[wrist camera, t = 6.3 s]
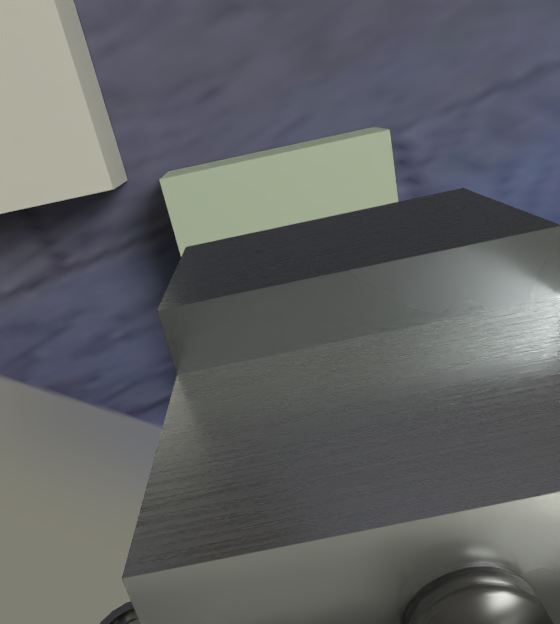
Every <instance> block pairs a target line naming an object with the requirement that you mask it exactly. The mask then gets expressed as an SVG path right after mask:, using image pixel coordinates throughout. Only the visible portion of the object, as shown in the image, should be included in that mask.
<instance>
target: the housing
mask: <svg viewBox="0 0 560 624" xmlns="http://www.w3.org/2000/svg"><path fill="white" fill-rule="evenodd" d="M157 312H158V315H159V319H160V322H161V325H162V328H163V332H164V335H165V338H166V341H167V345H168V348H169V351H170V354H171V357H172V361H173V364H174V367H175V370H176V374H177V377H176V380H175V384H174V388H173V391H172V395H171V399H170V402H169V406H168V410H167V414H166V417H165V421H164V425H163V428H162V432H161V436H160V439H159V443H158V447H157V450H156V454H155V458H154V462H153V465H152V469H151V473H150V476H149V480H148V484H147V487H146V491H145V495H144V499H143V502H142V506H141V510H140V513H139V517H138V521H137V525H136V528H135V532H134V535H133V539H132V543H131V547H130V550H129V554H128V558H127V562H126V565H125V569H124V573H123V576H122V580H123V583H124V585H125V588H126V590H127V593H128V595H129V597H130V600H131V602H132V605H133V607H134V609H135V612H136V614H137V616H138V619H139V621H140V624H560V225H559V224H556V223H554V222H551V221H549V220H546V219H543V218H541V217H538V216H535V215H533V214H530V213H528V212H525V211H522V210H520V209H517V208H514V207H512V206H509V205H506V204H504V203H501V202H499V201H496V200H493V199H491V198H488V197H485V196H483V195H480V194H478V193H475V192H472V191H470V190H467V189H464V188H461V189H457V190H452V191H447V192H442V193H438V194H433V195H428V196H424V197H419V198H414V199H409V200H405V201H400V202H395V203H391V204H386V205H381V206H376V207H372V208H367V209H362V210H358V211H353V212H348V213H343V214H339V215H334V216H329V217H325V218H320V219H315V220H310V221H306V222H301V223H296V224H292V225H287V226H282V227H277V228H273V229H268V230H263V231H259V232H254V233H249V234H245V235H240V236H235V237H230V238H226V239H221V240H216V241H212V242H207V243H202V244H197V245H193V246H188V247H186V248H185V250H184V252H183V254H182V257H181V259H180V261H179V263H178V265H177V268H176V270H175V272H174V274H173V276H172V279H171V281H170V283H169V285H168V287H167V290H166V292H165V294H164V296H163V298H162V301H161V303H160V305H159V307H158V309H157Z"/></svg>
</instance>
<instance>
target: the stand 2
mask: <svg viewBox="0 0 560 624" xmlns="http://www.w3.org/2000/svg"><path fill="white" fill-rule="evenodd" d="M159 181H160V184H161V188H162V191H163V195H164V198H165V202H166V206H167V209H168V213H169V216H170V220H171V223H172V227H173V230H174V234H175V238H176V241H177V245H178V248H179V252H180V255H181V257H182V254H183V252H184V250H185V248H186V247H188V246H193V245H197V244H202V243H207V242H212V241H216V240H221V239H226V238H230V237H235V236H240V235H245V234H249V233H254V232H259V231H263V230H268V229H273V228H277V227H282V226H287V225H292V224H296V223H301V222H306V221H310V220H315V219H320V218H325V217H329V216H334V215H339V214H343V213H348V212H353V211H358V210H362V209H367V208H372V207H376V206H381V205H386V204H391V203H395V202H398V196H397V187H396V179H395V170H394V162H393V154H392V145H391V137H390V130H388V129H382V128H376V127H372V128H367V129H362V130H358V131H353V132H348V133H344V134H339V135H335V136H330V137H325V138H321V139H316V140H311V141H307V142H302V143H298V144H293V145H288V146H284V147H279V148H275V149H270V150H265V151H261V152H256V153H251V154H247V155H242V156H238V157H233V158H228V159H224V160H219V161H214V162H210V163H205V164H201V165H196V166H191V167H187V168H182V169H178V170H173V171H168V172H167V173H166V174H165V175H164V176H163V177H162V178H160V179H159Z"/></svg>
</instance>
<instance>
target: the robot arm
mask: <svg viewBox="0 0 560 624" xmlns="http://www.w3.org/2000/svg"><path fill="white" fill-rule="evenodd" d="M100 624H140V621H139V619H138V616H137V614H136V612H135V609H134V607H133V605H132V602H131V601H130V602H128V603H125V604H124V605H122V606H121V607H119V608H117V609H115V610H114V611H112V612H111V613H110V614H109V615H108V616H107V617H106V618H105V619H104V620H103V621H101V623H100Z"/></svg>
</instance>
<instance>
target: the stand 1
mask: <svg viewBox="0 0 560 624" xmlns="http://www.w3.org/2000/svg"><path fill="white" fill-rule="evenodd" d="M126 181H127V176H126V173H125V170H124V167H123V163H122V160H121V157H120V153H119V150H118V147H117V143H116V140H115V137H114V133H113V130H112V127H111V123H110V120H109V117H108V114H107V110H106V107H105V104H104V100H103V97H102V94H101V90H100V87H99V84H98V80H97V77H96V74H95V71H94V67H93V64H92V61H91V57H90V54H89V51H88V47H87V44H86V41H85V37H84V34H83V31H82V27H81V24H80V21H79V18H78V14H77V11H76V8H75V4H74V1H73V0H0V214H2V213H7V212H12V211H16V210H21V209H25V208H30V207H35V206H39V205H44V204H48V203H53V202H58V201H62V200H67V199H72V198H76V197H81V196H85V195H90V194H95V193H99V192H104V191H109V190H113V189H115V188H116V187H118V186H120V185H121V184H123V183H124V182H126Z"/></svg>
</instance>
